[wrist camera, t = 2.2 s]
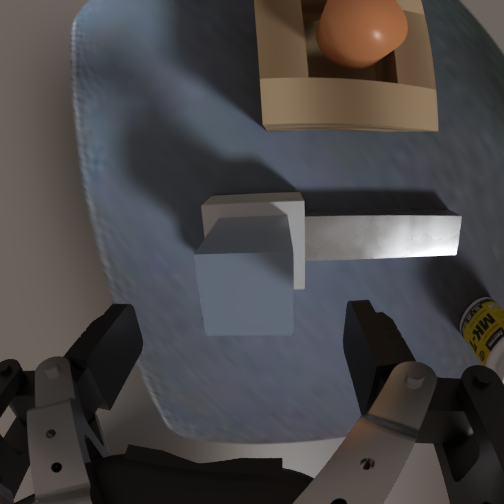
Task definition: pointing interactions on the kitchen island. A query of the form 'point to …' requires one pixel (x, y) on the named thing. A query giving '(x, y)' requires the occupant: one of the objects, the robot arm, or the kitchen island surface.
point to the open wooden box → (341, 75)
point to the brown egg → (360, 31)
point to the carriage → (251, 263)
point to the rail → (380, 233)
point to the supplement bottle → (485, 333)
